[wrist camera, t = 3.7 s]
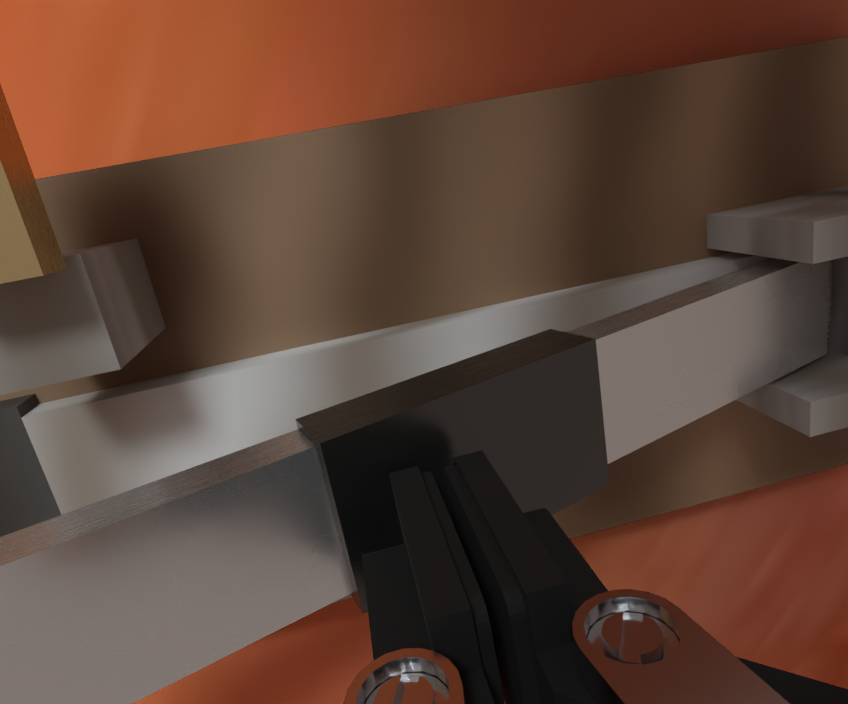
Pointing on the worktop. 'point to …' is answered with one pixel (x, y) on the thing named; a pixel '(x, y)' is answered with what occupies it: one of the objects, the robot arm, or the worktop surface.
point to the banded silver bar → (375, 484)
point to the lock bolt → (22, 212)
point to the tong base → (427, 276)
